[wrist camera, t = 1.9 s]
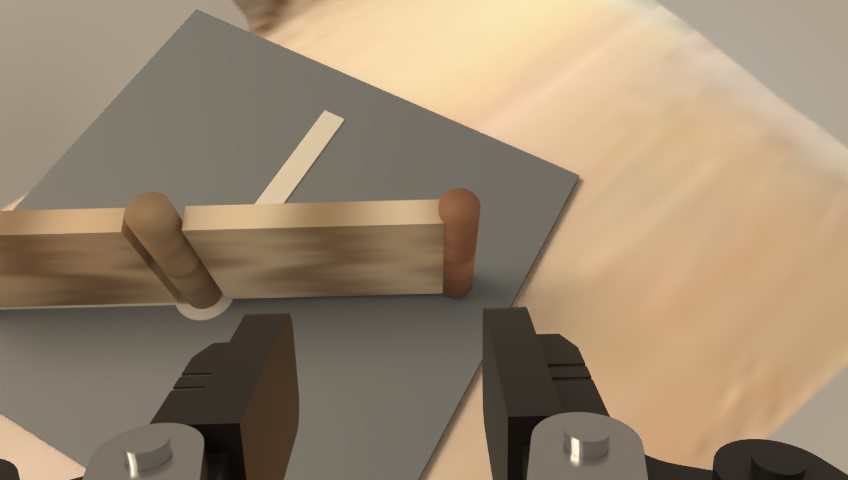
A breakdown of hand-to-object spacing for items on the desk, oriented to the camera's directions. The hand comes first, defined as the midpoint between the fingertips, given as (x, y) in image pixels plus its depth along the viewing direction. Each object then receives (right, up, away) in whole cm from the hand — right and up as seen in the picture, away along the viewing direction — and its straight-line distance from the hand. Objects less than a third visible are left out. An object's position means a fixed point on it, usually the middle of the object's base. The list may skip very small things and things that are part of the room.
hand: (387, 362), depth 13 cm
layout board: (-9, +1, +28) cm, 29 cm away
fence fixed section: (-17, -1, +26) cm, 31 cm away
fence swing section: (-3, 0, +26) cm, 26 cm away
